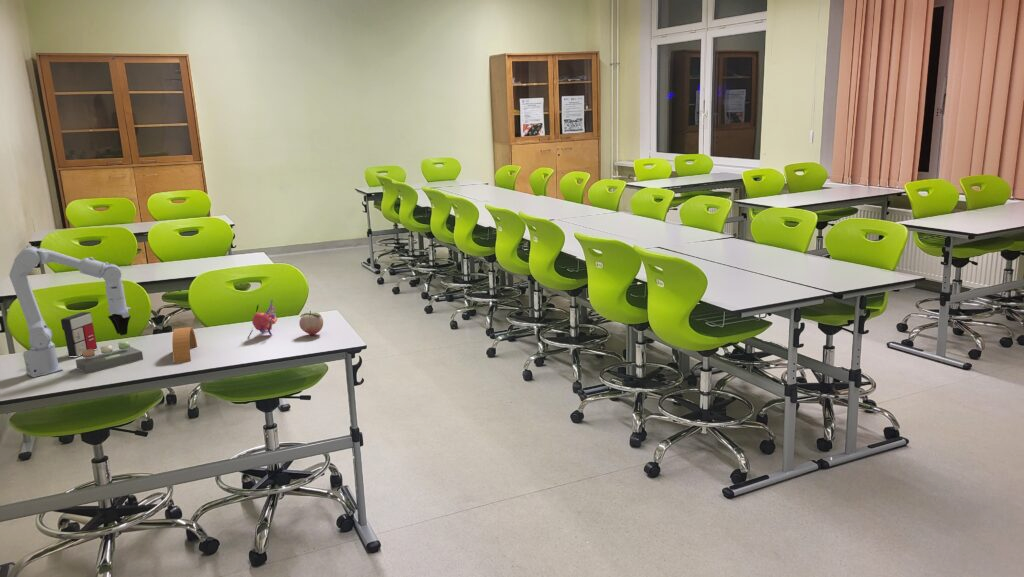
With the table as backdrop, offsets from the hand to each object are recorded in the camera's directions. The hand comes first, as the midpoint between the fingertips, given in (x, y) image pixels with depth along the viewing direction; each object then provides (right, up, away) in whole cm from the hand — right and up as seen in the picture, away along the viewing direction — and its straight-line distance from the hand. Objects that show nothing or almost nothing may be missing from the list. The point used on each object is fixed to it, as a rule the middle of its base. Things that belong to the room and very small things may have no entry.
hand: (122, 334), depth 269 cm
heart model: (+43, -2, +26) cm, 50 cm away
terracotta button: (-8, -7, -7) cm, 13 cm away
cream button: (-4, -6, -3) cm, 8 cm away
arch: (+22, -8, +4) cm, 23 cm away
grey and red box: (-21, -8, +12) cm, 26 cm away
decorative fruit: (+64, -2, +22) cm, 68 cm away
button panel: (-2, -10, -3) cm, 11 cm away
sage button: (0, -5, +1) cm, 5 cm away
